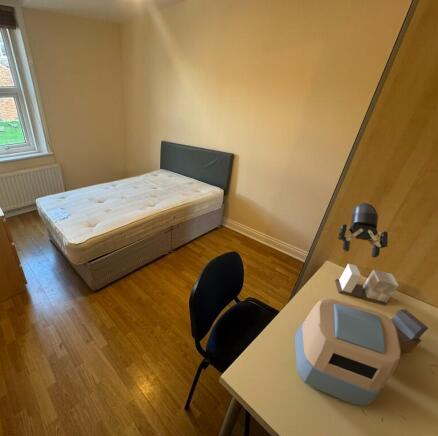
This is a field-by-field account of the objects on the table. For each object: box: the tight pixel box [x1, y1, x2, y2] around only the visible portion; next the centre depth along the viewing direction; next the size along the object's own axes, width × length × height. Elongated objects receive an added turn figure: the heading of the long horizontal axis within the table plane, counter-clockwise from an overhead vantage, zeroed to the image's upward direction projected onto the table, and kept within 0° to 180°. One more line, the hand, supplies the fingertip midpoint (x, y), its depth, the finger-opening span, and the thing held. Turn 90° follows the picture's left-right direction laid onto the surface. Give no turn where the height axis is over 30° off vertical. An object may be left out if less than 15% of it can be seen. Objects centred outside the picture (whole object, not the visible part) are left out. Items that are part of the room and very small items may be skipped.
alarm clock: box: [294, 297, 402, 406], centre depth 62 cm, size 17×17×23 cm
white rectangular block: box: [338, 263, 362, 293], centre depth 92 cm, size 3×6×9 cm, turn 154°
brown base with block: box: [334, 269, 400, 306], centre depth 90 cm, size 14×7×10 cm, turn 64°
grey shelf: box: [390, 308, 429, 354], centre depth 72 cm, size 18×7×12 cm, turn 94°
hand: (360, 254), depth 89 cm, fingers open, 8 cm apart
